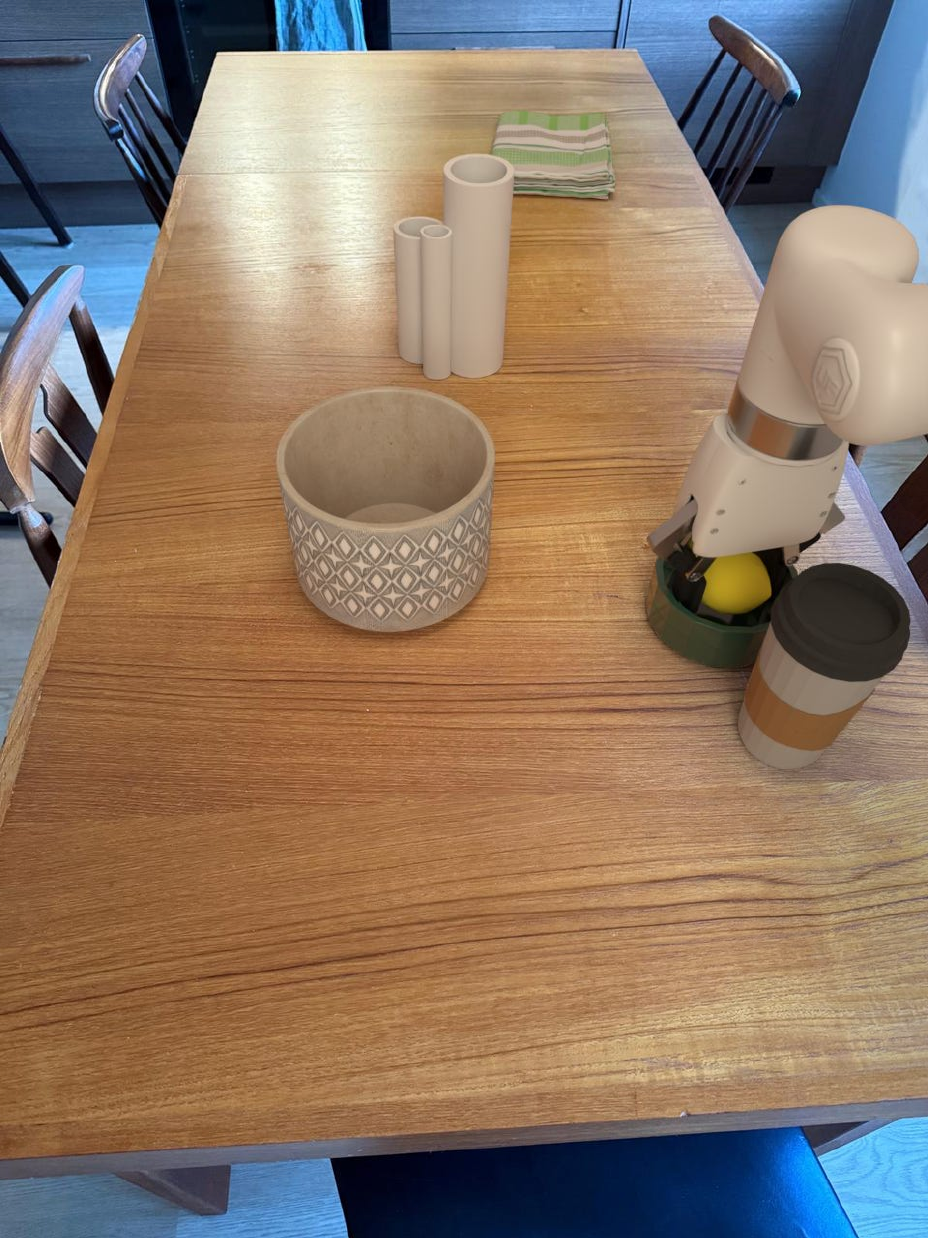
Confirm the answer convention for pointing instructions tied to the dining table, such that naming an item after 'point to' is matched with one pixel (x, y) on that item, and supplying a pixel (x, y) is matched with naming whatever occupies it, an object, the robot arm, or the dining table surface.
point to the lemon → (736, 584)
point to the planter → (388, 506)
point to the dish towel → (557, 153)
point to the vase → (457, 272)
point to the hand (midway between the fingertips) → (722, 593)
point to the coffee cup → (820, 661)
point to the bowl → (707, 623)
